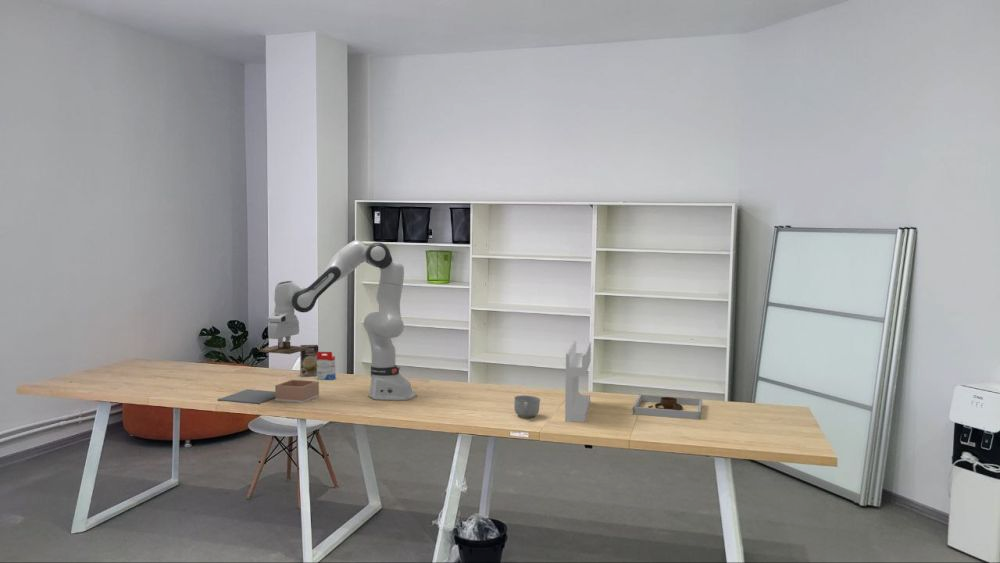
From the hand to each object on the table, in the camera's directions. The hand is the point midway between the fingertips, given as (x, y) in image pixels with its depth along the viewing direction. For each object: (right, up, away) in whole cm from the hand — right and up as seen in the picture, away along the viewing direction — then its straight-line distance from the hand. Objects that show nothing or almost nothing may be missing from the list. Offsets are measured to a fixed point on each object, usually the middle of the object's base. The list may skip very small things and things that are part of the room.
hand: (284, 346), depth 342 cm
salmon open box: (+6, -24, +1) cm, 25 cm away
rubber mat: (-15, -24, +3) cm, 29 cm away
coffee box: (-2, -20, +54) cm, 57 cm away
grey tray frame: (+173, -26, -15) cm, 176 cm away
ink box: (+9, -21, +45) cm, 51 cm away
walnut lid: (0, -2, 0) cm, 2 cm away
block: (+133, -27, -20) cm, 137 cm away
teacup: (+110, -27, -30) cm, 117 cm away
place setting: (+172, -27, -16) cm, 175 cm away
